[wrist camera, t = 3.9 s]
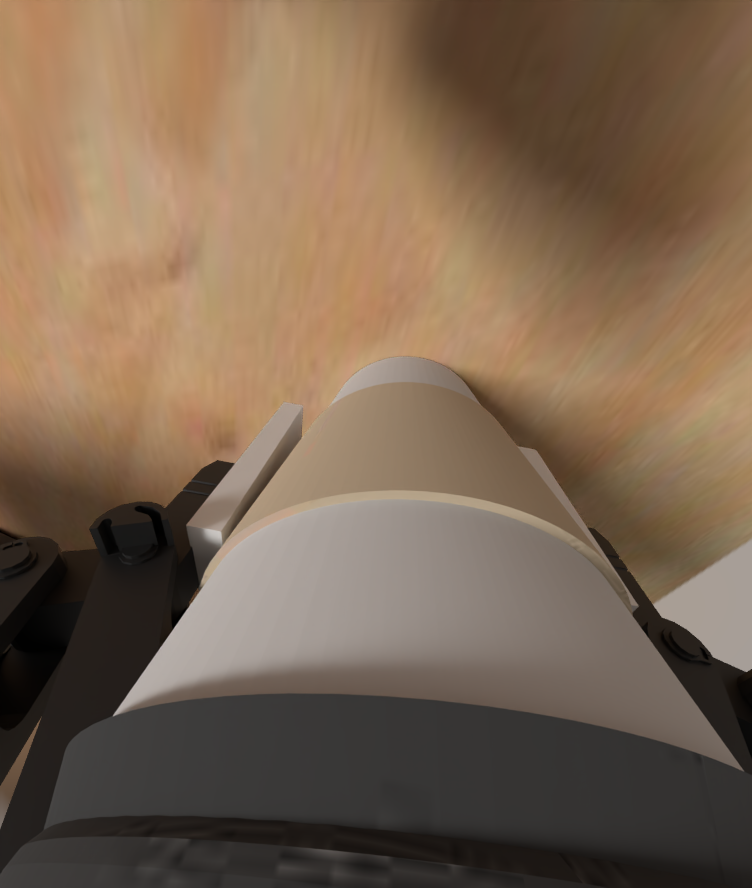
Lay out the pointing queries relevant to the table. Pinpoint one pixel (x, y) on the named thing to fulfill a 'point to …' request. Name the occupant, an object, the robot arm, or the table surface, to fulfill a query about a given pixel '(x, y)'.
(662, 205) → the table surface
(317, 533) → the coffee cup
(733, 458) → the table surface
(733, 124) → the table surface
